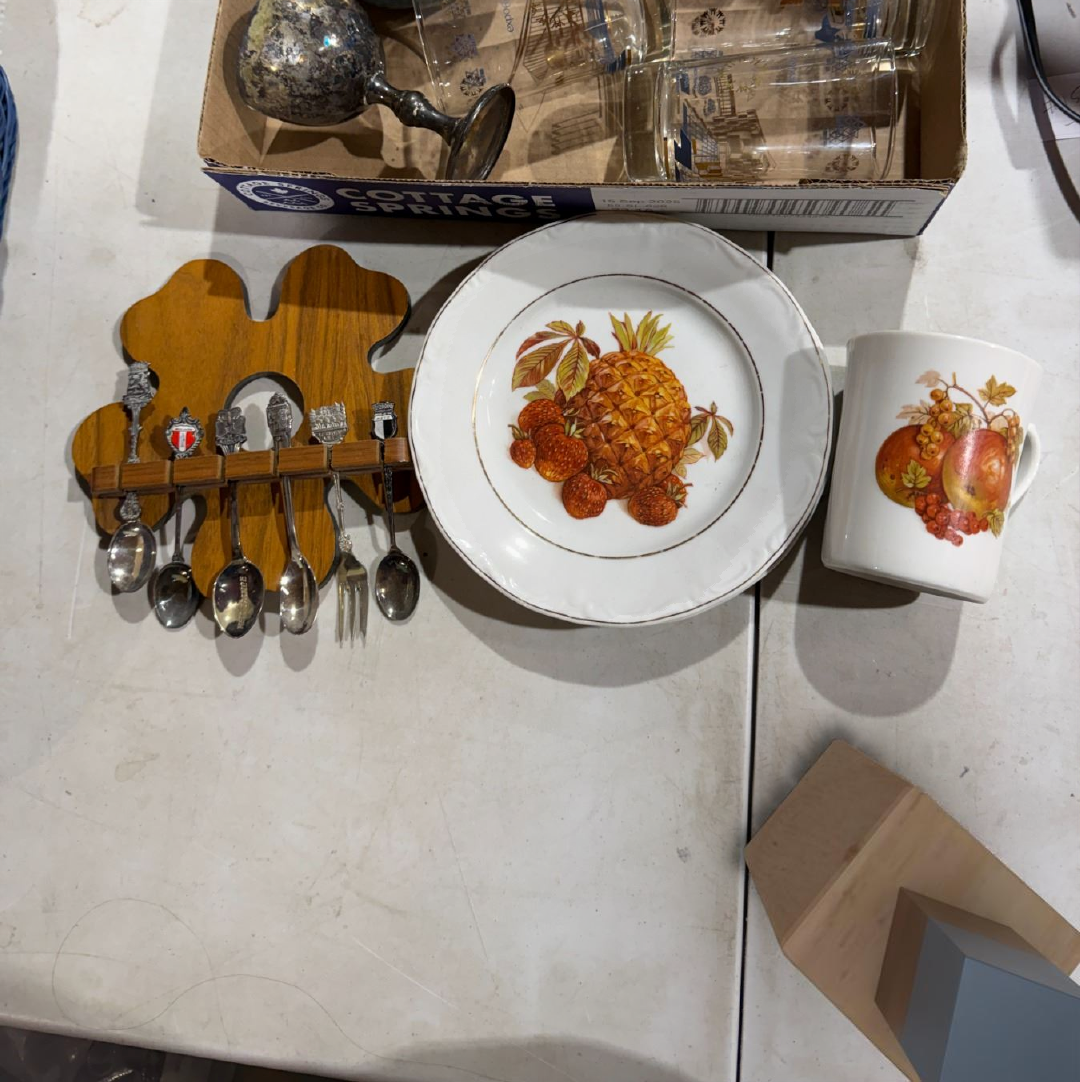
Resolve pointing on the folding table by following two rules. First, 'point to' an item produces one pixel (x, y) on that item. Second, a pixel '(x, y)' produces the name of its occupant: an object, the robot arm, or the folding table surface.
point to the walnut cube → (909, 941)
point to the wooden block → (878, 881)
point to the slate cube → (989, 1013)
